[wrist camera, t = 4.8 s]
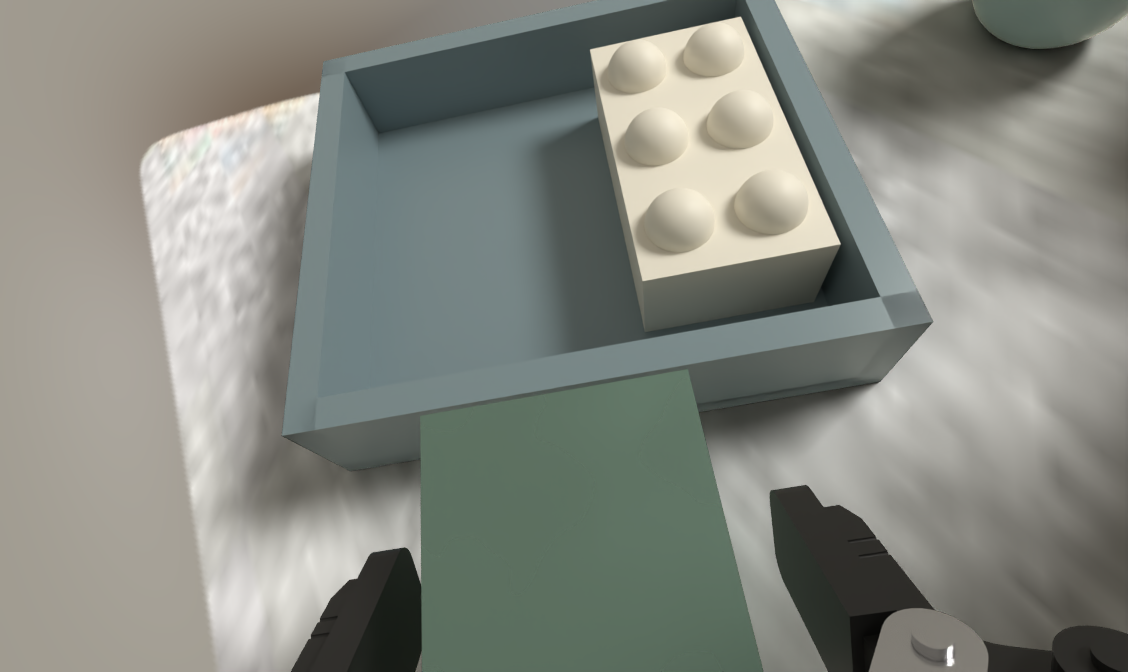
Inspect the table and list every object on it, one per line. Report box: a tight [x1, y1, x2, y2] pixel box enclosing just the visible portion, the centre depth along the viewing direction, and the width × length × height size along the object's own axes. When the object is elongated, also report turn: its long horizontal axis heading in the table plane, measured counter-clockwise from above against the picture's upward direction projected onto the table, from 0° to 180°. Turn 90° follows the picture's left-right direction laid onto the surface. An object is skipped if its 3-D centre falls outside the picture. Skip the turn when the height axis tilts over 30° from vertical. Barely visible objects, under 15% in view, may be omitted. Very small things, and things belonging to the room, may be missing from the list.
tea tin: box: [420, 369, 763, 672], centre depth 15 cm, size 5×5×13 cm
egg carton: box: [590, 17, 841, 332], centre depth 25 cm, size 7×13×5 cm, turn 7°
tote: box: [282, 0, 933, 471], centre depth 26 cm, size 22×20×5 cm
